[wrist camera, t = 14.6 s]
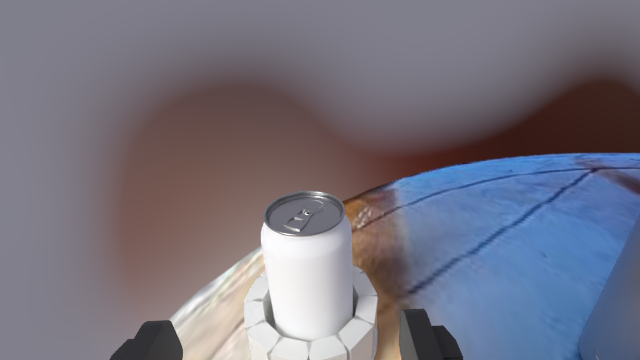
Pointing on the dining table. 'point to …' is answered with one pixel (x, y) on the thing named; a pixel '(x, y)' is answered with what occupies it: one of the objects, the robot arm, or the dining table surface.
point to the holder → (320, 355)
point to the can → (308, 264)
